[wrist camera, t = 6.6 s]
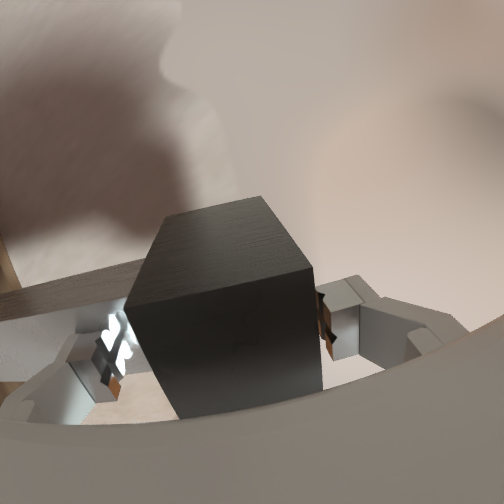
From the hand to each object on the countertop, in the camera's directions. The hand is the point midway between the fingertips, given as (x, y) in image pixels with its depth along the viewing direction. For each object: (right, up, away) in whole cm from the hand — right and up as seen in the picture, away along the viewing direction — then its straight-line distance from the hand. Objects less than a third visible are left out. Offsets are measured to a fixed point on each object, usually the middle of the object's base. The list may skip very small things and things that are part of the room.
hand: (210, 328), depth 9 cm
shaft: (-8, 0, +4) cm, 9 cm away
